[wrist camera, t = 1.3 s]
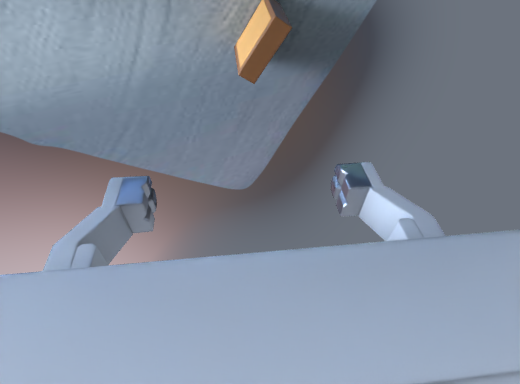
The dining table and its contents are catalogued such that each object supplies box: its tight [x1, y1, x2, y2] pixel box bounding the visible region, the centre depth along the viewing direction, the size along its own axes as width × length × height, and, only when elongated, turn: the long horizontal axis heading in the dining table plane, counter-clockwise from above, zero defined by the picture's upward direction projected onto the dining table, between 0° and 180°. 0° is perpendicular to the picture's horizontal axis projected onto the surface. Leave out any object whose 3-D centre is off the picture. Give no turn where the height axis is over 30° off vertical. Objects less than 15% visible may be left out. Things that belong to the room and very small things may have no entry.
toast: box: [234, 0, 292, 84], centre depth 40 cm, size 8×3×8 cm, turn 146°
